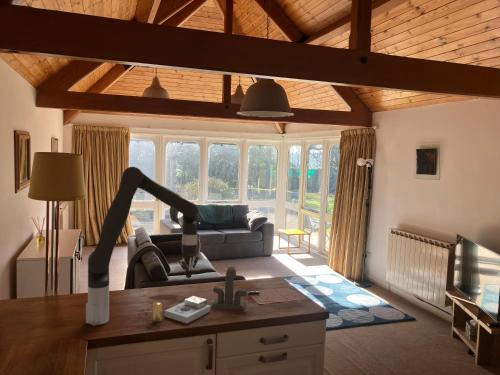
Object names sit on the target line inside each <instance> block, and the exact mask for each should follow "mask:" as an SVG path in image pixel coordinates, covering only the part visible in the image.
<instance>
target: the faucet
mask: <svg viewBox="0 0 500 375" xmlns="http://www.w3.org/2000/svg"><path fill="white" fill-rule="evenodd" d="M225 272H226V273H225V280H224V290H223V289H222V288H221V287H219V286H214V287H213V289H212V291H213V293H216V294H217V299H214V300H213V303H212V304H211V305H210V309H219V310H220V309H221V310H235V311H245V308H246V306H247V305H246V304H247V303H246V301H242V300H241V297H247V293H248V292H247V291H248V290H247V289H238V290H236V291H235V293H234V283H235V282H234V280H235V278H236V277H237V270H236V268H235V267H234V266H231V265H230V266H229V267H227V269H226V271H225Z"/></svg>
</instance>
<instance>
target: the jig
mask: <svg viewBox="0 0 500 375" xmlns="http://www.w3.org/2000/svg"><path fill="white" fill-rule="evenodd" d="M210 312H211V305H208V304H206V305H204V306H202V307H200V308H195V307H192V306H189V305H185V304H184V301H183V302H181V303H179V304H177V305H173V306H172V307H169V308H168V309H166V310H164V317H165V318H169V319H172V320H175V321H177V322H180V323H184V324H189V323H191V322H193V321H195V320H197V319H199V318H201V317H203V316H204V315H207V314H208V313H210Z"/></svg>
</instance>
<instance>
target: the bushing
mask: <svg viewBox="0 0 500 375" xmlns="http://www.w3.org/2000/svg"><path fill="white" fill-rule="evenodd" d="M152 305H153V309H152V313H153V315H152V316H153V317H152V321H153V322H154V323H155V322H156V323H158V322H162V320H163V303H162V302H160V301H157V302H153V304H152Z"/></svg>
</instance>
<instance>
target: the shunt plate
mask: <svg viewBox="0 0 500 375" xmlns="http://www.w3.org/2000/svg"><path fill="white" fill-rule="evenodd" d="M183 302H184V304H185V305H189V306H192V307H195V308H200V307H202V306H204V305H208V300H207V299H206V298H203V297H199V296H196V295H192V296H189V297H188V298H185V299H184V301H183Z"/></svg>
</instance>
